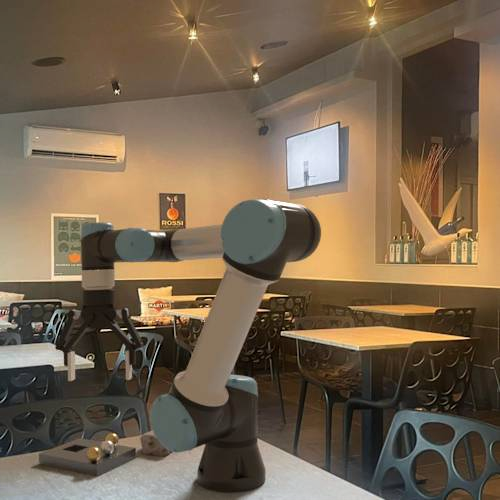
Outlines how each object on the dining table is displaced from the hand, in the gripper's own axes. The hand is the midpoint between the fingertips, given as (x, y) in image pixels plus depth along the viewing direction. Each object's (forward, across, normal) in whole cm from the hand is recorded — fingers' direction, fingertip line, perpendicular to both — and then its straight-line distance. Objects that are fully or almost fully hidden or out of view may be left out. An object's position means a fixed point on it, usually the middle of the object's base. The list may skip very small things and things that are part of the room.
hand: (100, 379), depth 143 cm
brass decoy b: (+16, 0, -9) cm, 19 cm away
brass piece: (+17, +1, +2) cm, 17 cm away
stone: (+21, -11, -16) cm, 29 cm away
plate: (+21, +5, -6) cm, 22 cm away
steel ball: (+17, 0, -3) cm, 17 cm away
